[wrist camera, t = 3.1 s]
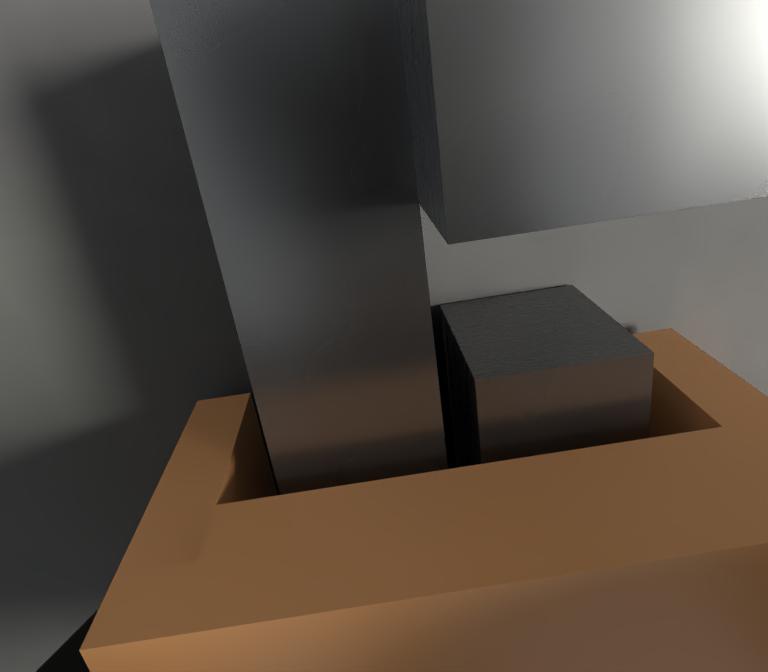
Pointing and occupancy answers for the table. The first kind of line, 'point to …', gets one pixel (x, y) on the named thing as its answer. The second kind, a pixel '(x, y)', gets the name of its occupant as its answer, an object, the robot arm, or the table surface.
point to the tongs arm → (432, 175)
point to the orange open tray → (461, 552)
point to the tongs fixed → (542, 376)
